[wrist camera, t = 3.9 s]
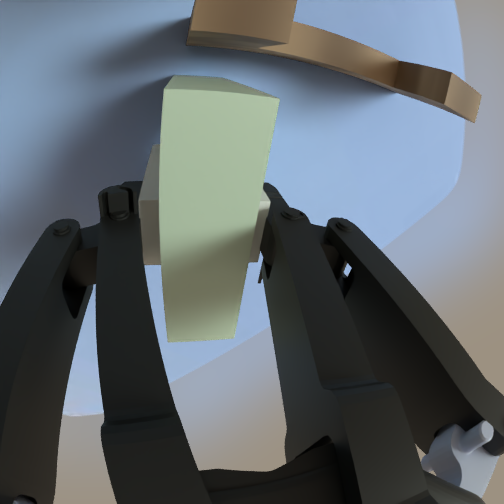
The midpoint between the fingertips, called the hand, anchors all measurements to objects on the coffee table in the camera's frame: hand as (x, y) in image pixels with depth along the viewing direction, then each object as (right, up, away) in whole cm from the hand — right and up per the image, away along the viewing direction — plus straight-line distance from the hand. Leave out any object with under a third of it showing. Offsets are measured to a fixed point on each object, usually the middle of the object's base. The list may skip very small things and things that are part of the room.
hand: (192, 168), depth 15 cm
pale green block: (-1, +2, +3) cm, 4 cm away
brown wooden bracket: (+7, +9, 0) cm, 11 cm away
